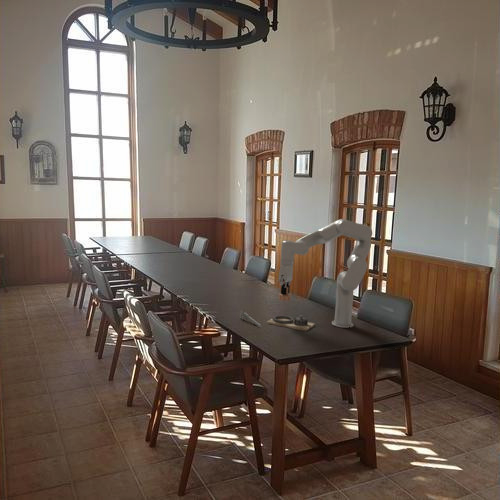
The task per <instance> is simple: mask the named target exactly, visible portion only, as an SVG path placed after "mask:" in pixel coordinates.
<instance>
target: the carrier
mask: <svg viewBox="0 0 500 500" xmlns="http://www.w3.org/2000/svg"><path fill="white" fill-rule="evenodd" d="M266 324H269V325H274V326H279V327H284V328H288V329H293V330H298V331H302V332H303V331H304V332H307V331H309V330H310V329H311V328H313V327H315V325H316V323H315V322H311V321H310V322H309V320H308V318H306V317H303V315H302V314H301V315H299V316H297V317H294V318H293V317H292V316H288V315H275V316H273V317H272V318H271V319H269V320H267V321H266Z"/></svg>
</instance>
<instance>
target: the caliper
mask: <svg viewBox="0 0 500 500" xmlns="http://www.w3.org/2000/svg"><path fill="white" fill-rule="evenodd" d="M239 319H240V320H244V319H245V320H248V321H250V322H251V323H253V324H254V325H255V326H257V327H258V328H263V326H262V324H261V323H259V322H258V321H256V320H255V319H254V318H252V317H251V316H250V315H249V314H248V313H247V312H245V309H243V308H242V309H241V310H240V313H239Z"/></svg>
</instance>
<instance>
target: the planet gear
mask: <svg viewBox="0 0 500 500" xmlns="http://www.w3.org/2000/svg"><path fill="white" fill-rule="evenodd" d="M286 288H287V291H286V295H284V294H281V293H278V300H279V301H281V302H288V301H289V302H291V296H292V295H291V293H288V287H286Z"/></svg>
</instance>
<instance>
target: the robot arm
mask: <svg viewBox="0 0 500 500" xmlns="http://www.w3.org/2000/svg"><path fill="white" fill-rule="evenodd" d="M341 236H345V237H349V238H352V239H355V245H354V247H353V250H352V251H351V253H350V255H349V257H348V259H347V260H346V261H347V262H346V267H347V268H348V269H347V270H344V271H341V272H339V273H338V274H337V278H336V295H335V296H336V297H335V298H336V299H335V310H334V320H332V321H331V324H332V326H335V327H337V328H344V329H345V328H346V329H348V328H349V327H350V328H353V327H354V326H355V325H354V323H353V322H352V317H353V316H352V315H353V304H354V303H353V302H354V291H356V289H357V288H358V287H359V285H360V283H361V282H362V280H363V278H364V276H365V274H366V273H367V269H368V262H367V260H366V259H367V257H368V254H369V252H370V250H371V246H372V236H373V229H372V228H371V227H370V226H369V225H365V224H364V223H357V222H355V221H351V220H349V219H346V218H340V219H337V220H335V221H333V222H331V223H329V224H328V225H326V226H324V227H322V228H320V229H318V230H316V231H314V232H311V233H308V234H306V235H304V236H303V237H301V238H298V239H297V240H296V241H294V240H288V239H287V240H282V242H281V252H280V266H279V271H278V278H277V279H278V280H277V282H279V284H280V294H284V295H286V291H287V288H286V287H288V294H290V287H291V282H292V281H293V274H294V264H295V263H294V262H295V255H300V256H305V255H307V254H308V253H309V251H310V248H312V247H315V246H317V245H322V244H323V245H324V244H327V243H329V242H331V241H333V240H334V239H336V238H338V237H341Z"/></svg>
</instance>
